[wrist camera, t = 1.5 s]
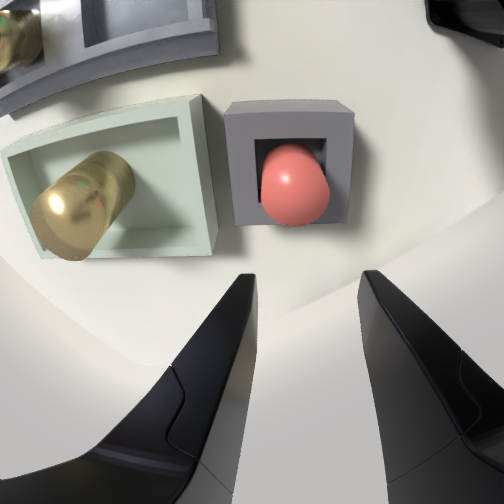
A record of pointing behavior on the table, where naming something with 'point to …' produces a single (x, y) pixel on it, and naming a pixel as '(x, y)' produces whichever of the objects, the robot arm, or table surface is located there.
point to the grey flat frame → (106, 42)
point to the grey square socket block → (281, 132)
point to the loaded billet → (19, 38)
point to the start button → (293, 185)
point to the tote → (144, 169)
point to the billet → (83, 205)
